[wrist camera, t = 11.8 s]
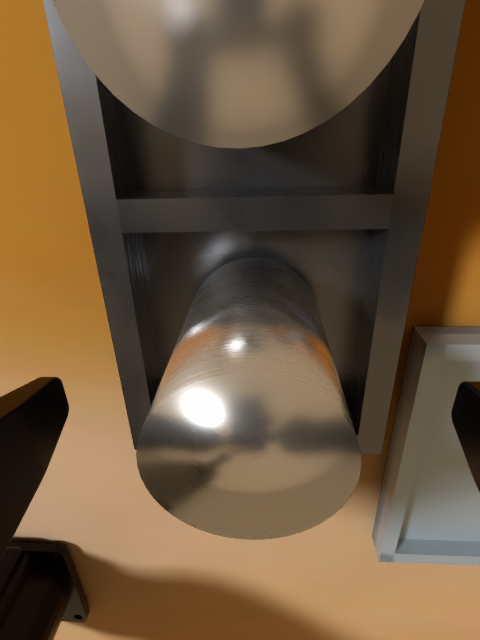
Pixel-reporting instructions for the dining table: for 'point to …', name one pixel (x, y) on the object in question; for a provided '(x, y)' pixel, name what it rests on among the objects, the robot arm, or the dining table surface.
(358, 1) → the cylinder
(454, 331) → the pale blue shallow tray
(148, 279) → the grey divided tray
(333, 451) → the cylinder
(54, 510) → the dining table surface
